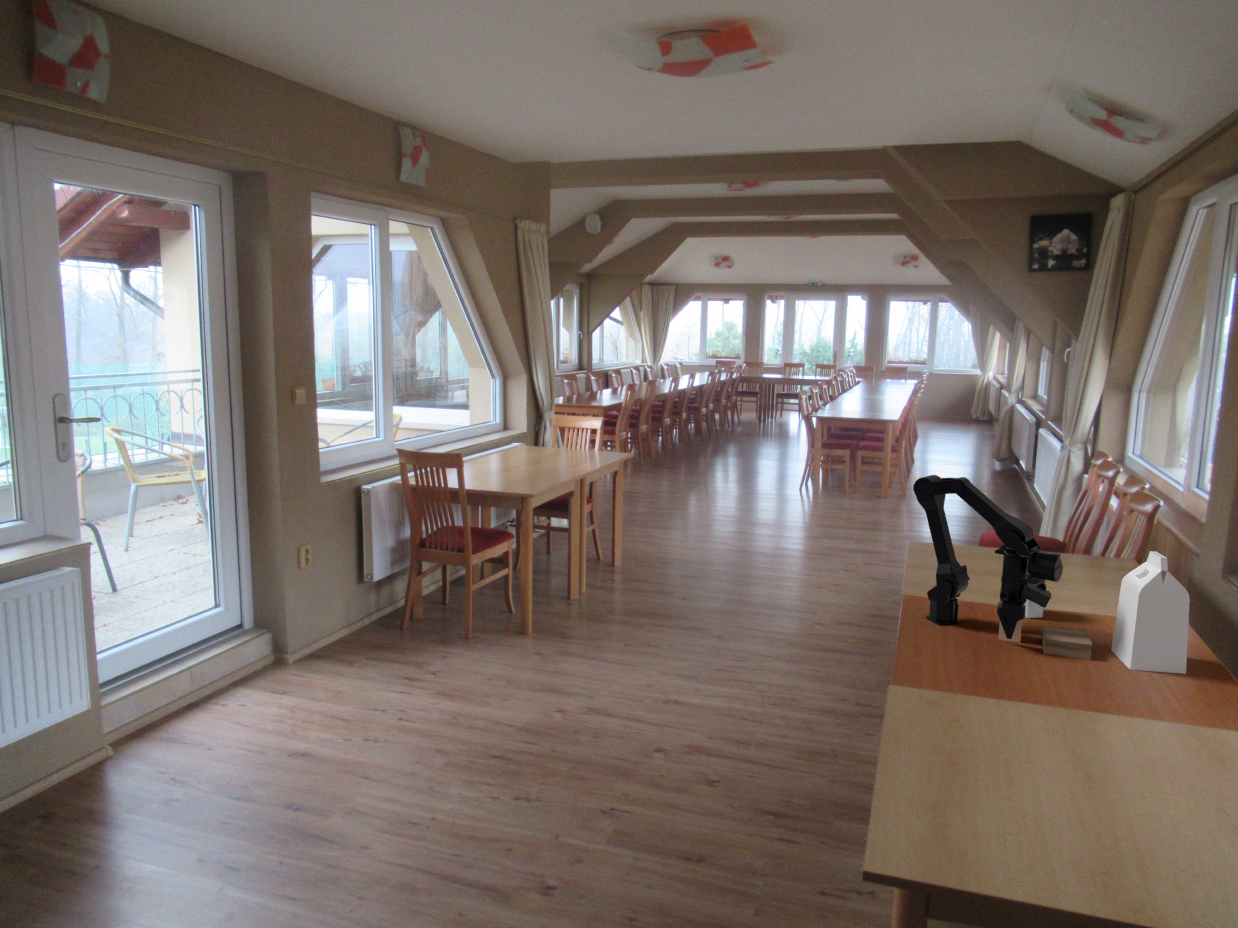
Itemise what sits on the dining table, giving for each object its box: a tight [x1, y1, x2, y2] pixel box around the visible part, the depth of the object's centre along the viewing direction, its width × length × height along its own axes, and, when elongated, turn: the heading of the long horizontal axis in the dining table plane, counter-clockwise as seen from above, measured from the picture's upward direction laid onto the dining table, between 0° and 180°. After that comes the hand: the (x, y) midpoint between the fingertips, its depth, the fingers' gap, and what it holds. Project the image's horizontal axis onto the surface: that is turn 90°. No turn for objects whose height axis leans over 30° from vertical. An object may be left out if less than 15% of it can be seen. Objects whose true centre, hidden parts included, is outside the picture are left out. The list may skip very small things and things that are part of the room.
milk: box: [1110, 550, 1191, 675], centre depth 197 cm, size 12×12×26 cm
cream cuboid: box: [998, 618, 1024, 643], centre depth 214 cm, size 5×5×6 cm
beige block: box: [1041, 625, 1093, 661], centre depth 206 cm, size 10×10×4 cm
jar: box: [1024, 570, 1046, 619], centre depth 232 cm, size 9×8×12 cm
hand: (1009, 632), depth 214 cm, fingers open, 9 cm apart
